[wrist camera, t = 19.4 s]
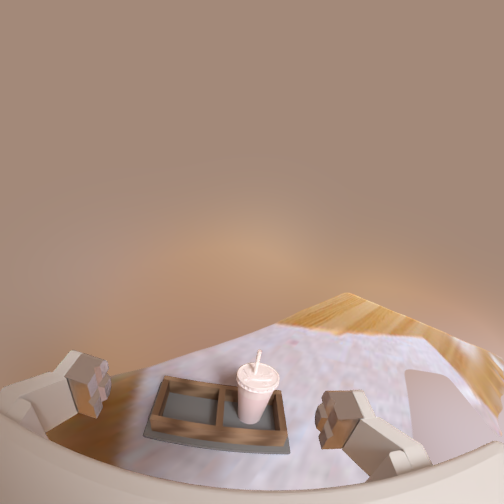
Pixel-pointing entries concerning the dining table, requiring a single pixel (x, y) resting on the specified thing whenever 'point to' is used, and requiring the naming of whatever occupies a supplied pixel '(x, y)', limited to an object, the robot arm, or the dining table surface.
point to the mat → (213, 423)
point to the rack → (216, 431)
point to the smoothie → (255, 389)
